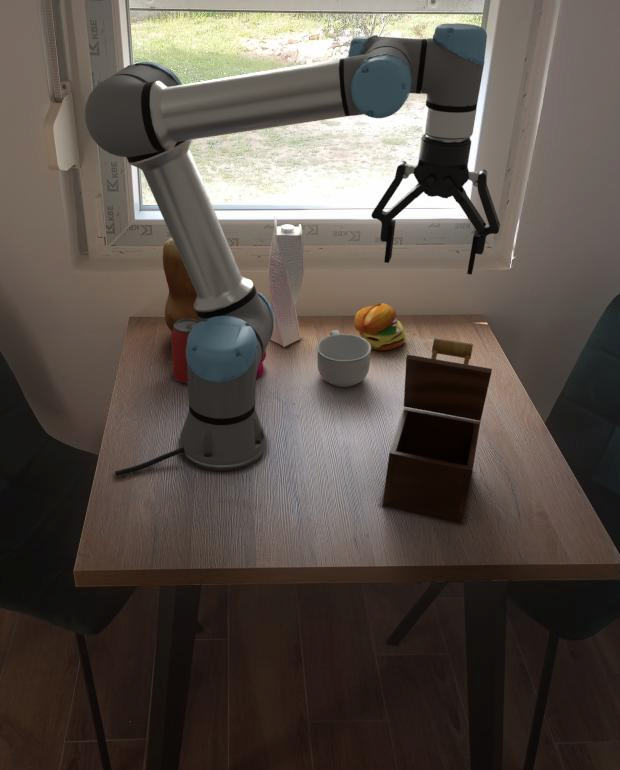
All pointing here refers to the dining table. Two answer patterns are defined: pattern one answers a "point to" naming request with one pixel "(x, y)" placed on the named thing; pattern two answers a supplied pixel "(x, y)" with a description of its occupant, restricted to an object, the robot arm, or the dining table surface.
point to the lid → (446, 382)
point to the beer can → (181, 347)
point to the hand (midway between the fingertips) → (428, 265)
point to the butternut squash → (177, 287)
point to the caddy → (431, 464)
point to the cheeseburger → (380, 327)
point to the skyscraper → (285, 280)
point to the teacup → (343, 359)
